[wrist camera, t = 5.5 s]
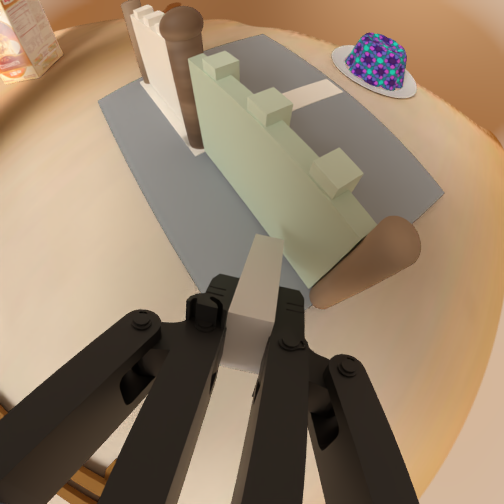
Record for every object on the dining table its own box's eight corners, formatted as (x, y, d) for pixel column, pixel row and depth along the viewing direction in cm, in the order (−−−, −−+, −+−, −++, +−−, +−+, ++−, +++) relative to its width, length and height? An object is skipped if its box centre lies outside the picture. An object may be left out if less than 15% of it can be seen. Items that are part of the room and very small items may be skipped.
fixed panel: (142, 82, 26) (118, 4, 16) (157, 75, 26) (137, -4, 16) (185, 138, 23) (160, 31, 13) (204, 128, 24) (187, 21, 13)
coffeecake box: (4, 85, 30) (-33, 23, 12) (26, 62, 32) (-5, 1, 14) (39, 79, 29) (-3, -2, 10) (65, 53, 31) (32, -25, 12)
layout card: (98, 103, 25) (97, 100, 25) (263, 36, 30) (263, 33, 29) (241, 353, 18) (241, 353, 17) (442, 194, 22) (445, 192, 22)
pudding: (428, 109, 27) (445, 81, 22) (345, 95, 26) (357, 59, 21) (394, 57, 30) (404, 32, 25) (320, 44, 30) (326, 14, 25)
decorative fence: (134, 540, 12) (152, 471, 15) (127, 550, 10) (144, 481, 13) (-38, 406, 14) (-33, 335, 17) (-48, 406, 12) (-44, 333, 15)
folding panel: (200, 153, 22) (178, 45, 12) (220, 142, 22) (208, 34, 12) (319, 314, 18) (398, 277, 8) (341, 297, 18) (430, 246, 8)
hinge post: (182, 141, 23) (149, 10, 11) (208, 128, 24) (189, -2, 11) (196, 159, 22) (165, 19, 10) (222, 145, 23) (209, 6, 10)
